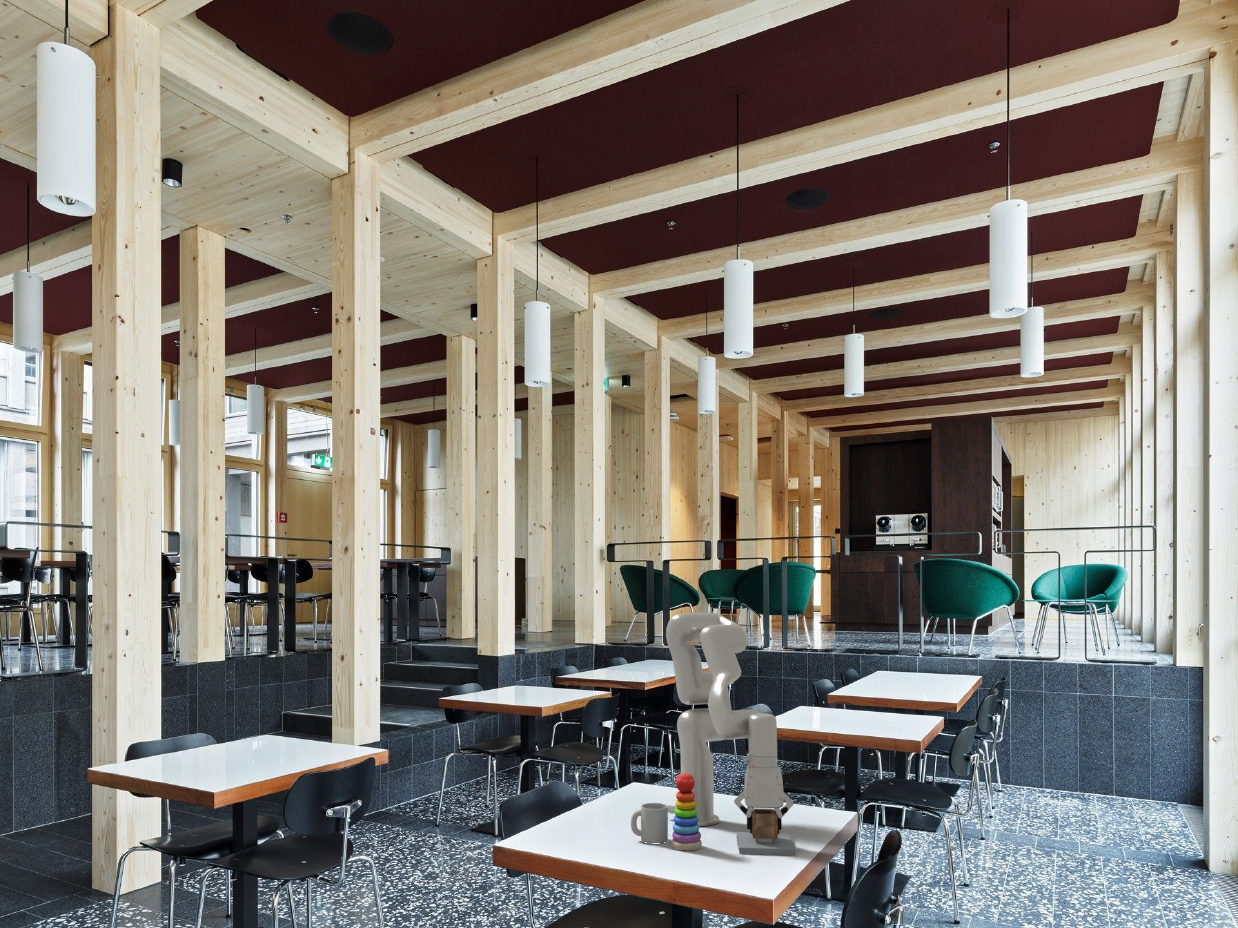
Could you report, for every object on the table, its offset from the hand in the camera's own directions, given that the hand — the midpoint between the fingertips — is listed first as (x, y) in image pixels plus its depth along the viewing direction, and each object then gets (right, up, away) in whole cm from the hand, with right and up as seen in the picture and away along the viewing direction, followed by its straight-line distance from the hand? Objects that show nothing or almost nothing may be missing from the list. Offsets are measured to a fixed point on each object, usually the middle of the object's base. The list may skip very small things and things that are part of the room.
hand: (764, 831), depth 227 cm
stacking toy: (-21, -3, -2) cm, 21 cm away
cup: (-30, -4, +4) cm, 31 cm away
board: (0, -4, -1) cm, 4 cm away
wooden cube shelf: (0, -1, 0) cm, 1 cm away
